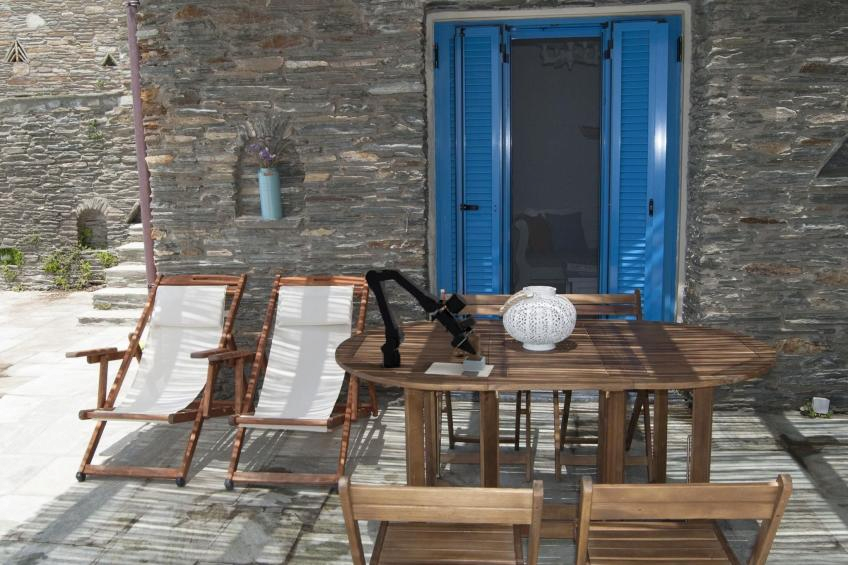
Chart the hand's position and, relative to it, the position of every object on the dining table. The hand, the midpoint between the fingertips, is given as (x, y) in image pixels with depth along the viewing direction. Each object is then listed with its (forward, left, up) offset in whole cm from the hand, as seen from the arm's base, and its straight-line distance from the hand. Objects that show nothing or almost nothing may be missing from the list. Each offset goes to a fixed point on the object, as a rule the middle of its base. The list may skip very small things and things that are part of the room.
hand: (477, 351), depth 301 cm
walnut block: (-1, +1, -6) cm, 7 cm away
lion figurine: (+1, +21, -8) cm, 22 cm away
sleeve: (-1, +1, -6) cm, 7 cm away
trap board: (-7, 0, -7) cm, 10 cm away
